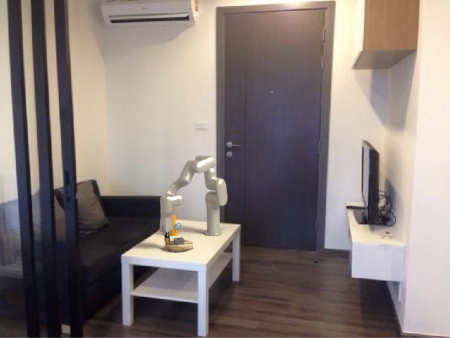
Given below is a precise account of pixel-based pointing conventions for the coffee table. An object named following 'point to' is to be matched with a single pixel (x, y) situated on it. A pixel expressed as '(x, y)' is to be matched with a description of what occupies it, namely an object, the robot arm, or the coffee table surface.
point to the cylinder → (174, 226)
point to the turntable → (171, 246)
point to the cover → (179, 241)
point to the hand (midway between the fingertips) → (167, 241)
